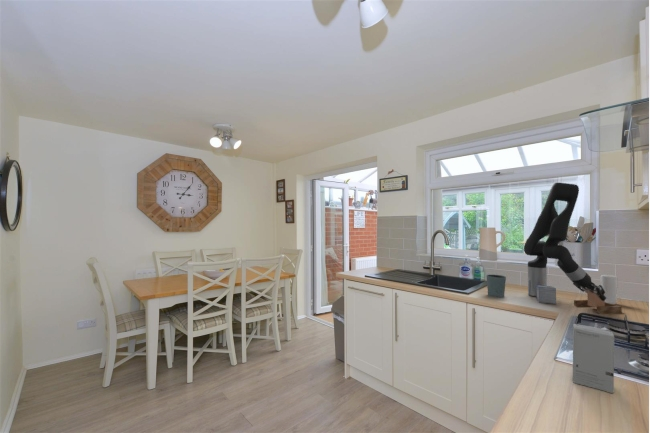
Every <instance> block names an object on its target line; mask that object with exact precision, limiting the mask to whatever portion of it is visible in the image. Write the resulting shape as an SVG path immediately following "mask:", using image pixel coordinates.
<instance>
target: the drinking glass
mask: <svg viewBox="0 0 650 433" xmlns="http://www.w3.org/2000/svg"><path fill="white" fill-rule="evenodd" d="M618 279H619V278H618V276H617V275H612V274H601V275H600V285H601V286H602V287H603V289H604V291H605V294H604V296H605V297H606V299H605V302H606V303H610V304H614V305H617V298H618V296H617V295H618V288H619V287H618V286H619V280H618Z"/></svg>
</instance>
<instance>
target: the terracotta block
mask: <svg viewBox="0 0 650 433" xmlns="http://www.w3.org/2000/svg"><path fill="white" fill-rule="evenodd" d="M587 291H588V292H587V293H586V294H587V296H586V297H587V300H588V305H589V306H588V307H593V308H596V309H597V306H605V301H602V300H601V299H600V298H599V297H598V296H597V295H596V294H595V293H592V292H591V291H589V290H587ZM597 293H598V292H597Z"/></svg>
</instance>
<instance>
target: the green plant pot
mask: <svg viewBox="0 0 650 433" xmlns="http://www.w3.org/2000/svg"><path fill="white" fill-rule="evenodd" d="M506 280H507V276H504V275H501V274H486V284H487V286H486V288H487V295H488V296H489V297H492V298H504V297H505V291H506V283H507V282H506Z"/></svg>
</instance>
